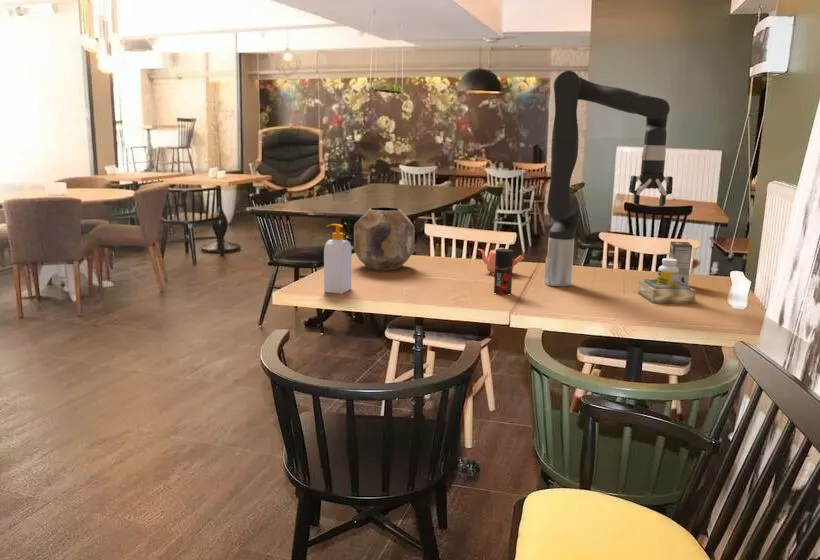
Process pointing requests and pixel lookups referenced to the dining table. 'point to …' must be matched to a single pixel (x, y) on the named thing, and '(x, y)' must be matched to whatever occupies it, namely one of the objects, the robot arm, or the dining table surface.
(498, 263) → the deodorant
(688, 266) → the coffee box
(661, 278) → the pill bottle
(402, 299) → the dining table surface
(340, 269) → the soap bottle
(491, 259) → the teapot
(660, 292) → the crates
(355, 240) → the planter
